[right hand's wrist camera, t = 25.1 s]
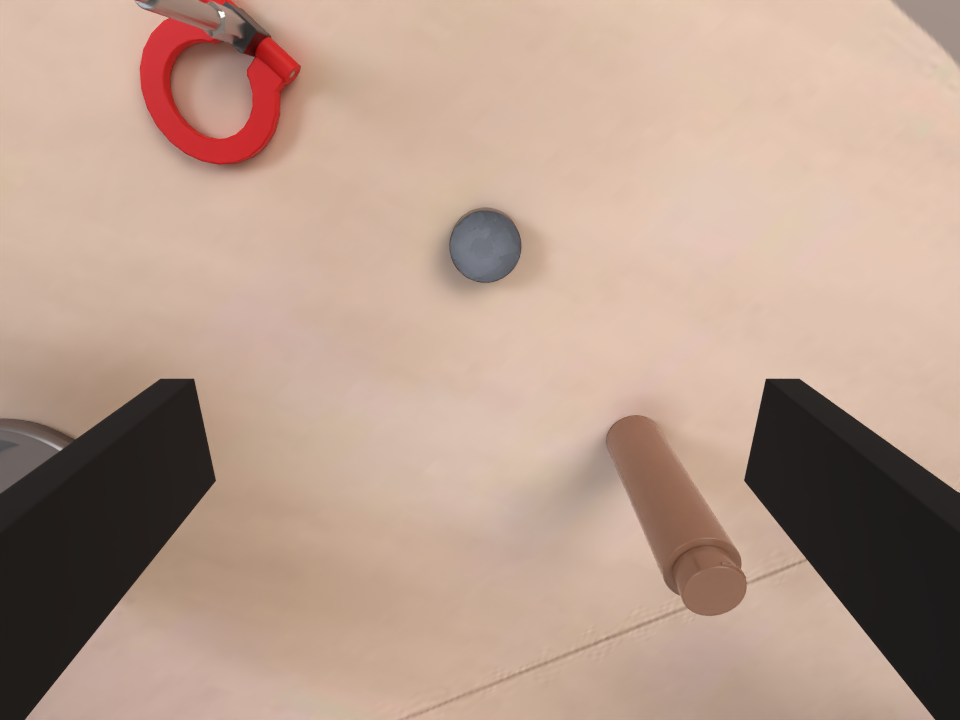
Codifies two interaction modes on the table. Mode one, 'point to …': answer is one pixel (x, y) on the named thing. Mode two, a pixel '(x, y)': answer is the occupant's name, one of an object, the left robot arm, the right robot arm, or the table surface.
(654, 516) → the bottle
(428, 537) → the table surface
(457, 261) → the lid
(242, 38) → the tow hook
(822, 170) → the table surface
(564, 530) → the table surface
